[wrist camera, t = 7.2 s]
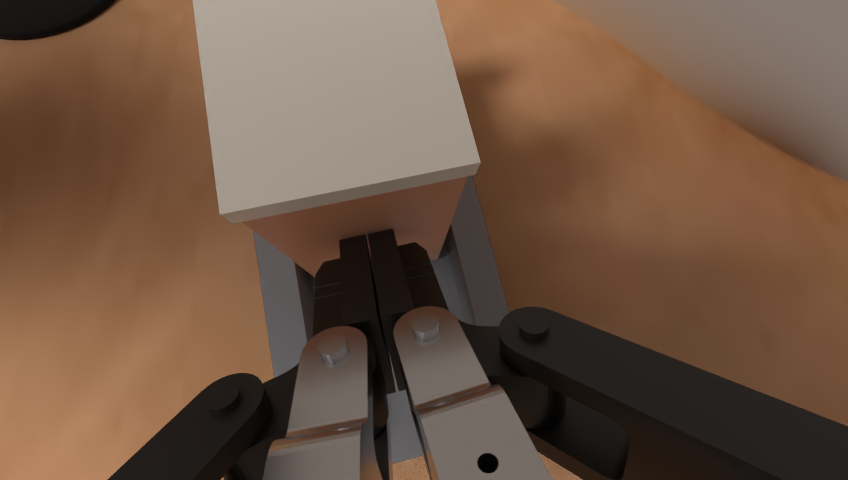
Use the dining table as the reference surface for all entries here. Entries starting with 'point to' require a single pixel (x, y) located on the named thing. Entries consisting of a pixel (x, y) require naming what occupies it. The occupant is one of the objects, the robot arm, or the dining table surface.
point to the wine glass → (45, 16)
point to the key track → (458, 278)
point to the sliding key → (334, 121)
